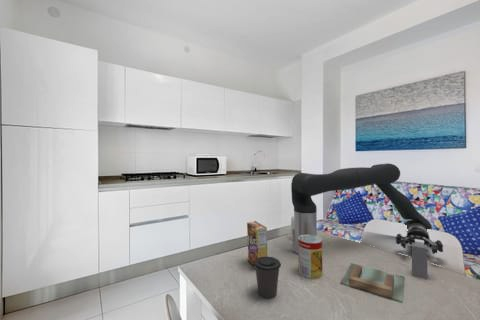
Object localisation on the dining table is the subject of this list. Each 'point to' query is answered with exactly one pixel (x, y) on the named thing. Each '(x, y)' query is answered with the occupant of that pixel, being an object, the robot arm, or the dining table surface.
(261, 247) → the candy box
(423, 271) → the connector plug
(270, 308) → the dining table surface
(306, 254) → the canned food
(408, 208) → the robot arm
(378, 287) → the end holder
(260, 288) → the coffee cup
